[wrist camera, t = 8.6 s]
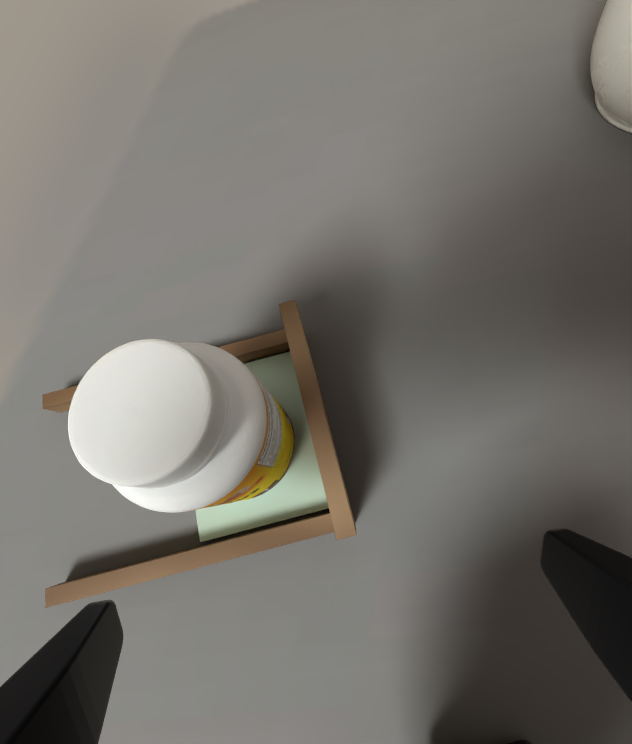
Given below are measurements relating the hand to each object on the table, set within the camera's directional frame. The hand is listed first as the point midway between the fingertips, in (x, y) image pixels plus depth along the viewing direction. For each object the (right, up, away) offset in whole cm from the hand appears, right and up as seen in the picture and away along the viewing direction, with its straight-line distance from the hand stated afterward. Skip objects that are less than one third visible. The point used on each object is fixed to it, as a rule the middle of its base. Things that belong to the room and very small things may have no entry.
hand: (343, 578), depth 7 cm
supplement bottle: (-4, 0, +12) cm, 13 cm away
